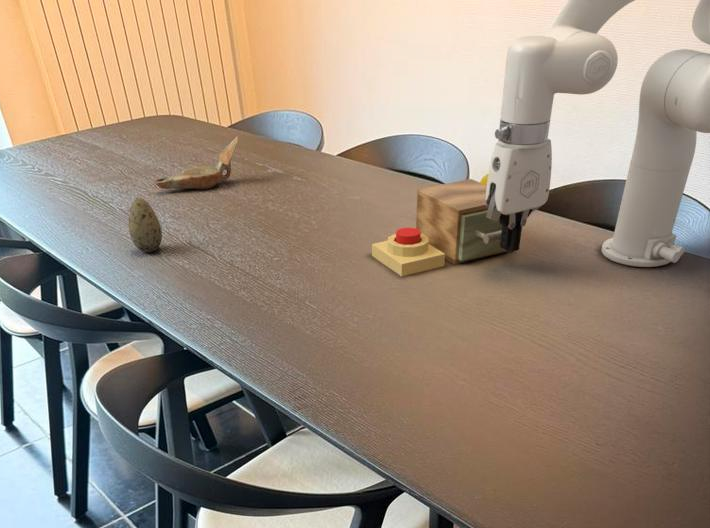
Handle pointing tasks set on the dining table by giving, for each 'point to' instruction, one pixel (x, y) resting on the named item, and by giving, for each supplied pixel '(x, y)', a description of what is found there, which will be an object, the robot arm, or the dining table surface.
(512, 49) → the robot arm
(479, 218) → the drawer
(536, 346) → the dining table surface
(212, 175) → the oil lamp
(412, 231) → the red button
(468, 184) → the cabinet
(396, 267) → the button box
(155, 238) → the decorative egg
